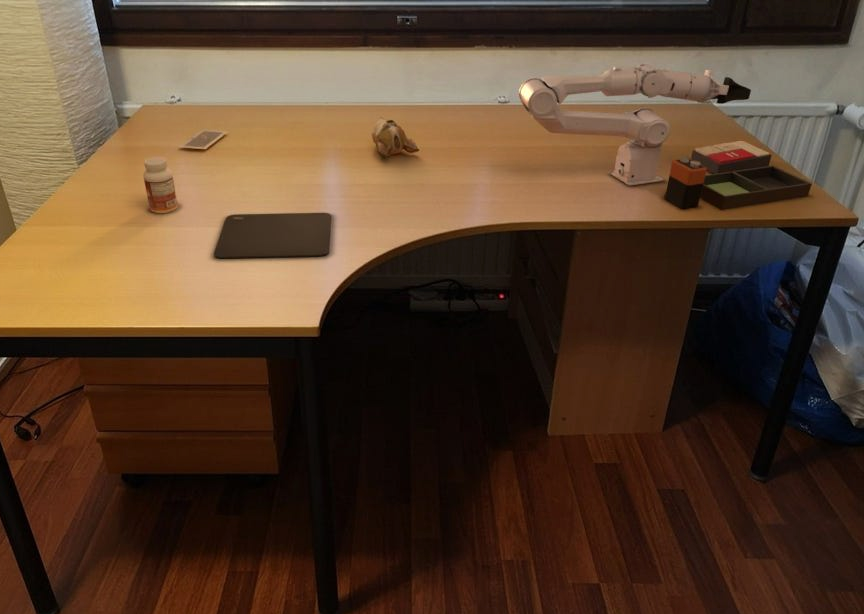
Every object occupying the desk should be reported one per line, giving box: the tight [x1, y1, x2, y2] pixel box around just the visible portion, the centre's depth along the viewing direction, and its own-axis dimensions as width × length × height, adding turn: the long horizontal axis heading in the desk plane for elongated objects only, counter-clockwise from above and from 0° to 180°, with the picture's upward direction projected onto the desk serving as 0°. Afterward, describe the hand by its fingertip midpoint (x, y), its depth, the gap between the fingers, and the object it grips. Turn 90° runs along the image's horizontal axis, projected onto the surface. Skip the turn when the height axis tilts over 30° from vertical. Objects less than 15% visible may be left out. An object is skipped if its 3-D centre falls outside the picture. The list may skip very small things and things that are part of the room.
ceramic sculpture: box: [371, 116, 420, 158], centre depth 194 cm, size 11×9×15 cm
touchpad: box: [178, 128, 229, 150], centre depth 203 cm, size 8×15×2 cm, turn 166°
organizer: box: [700, 165, 813, 211], centre depth 171 cm, size 24×12×3 cm, turn 108°
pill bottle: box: [143, 156, 178, 214], centre depth 164 cm, size 6×6×11 cm
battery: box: [664, 156, 708, 210], centre depth 165 cm, size 4×7×10 cm, turn 19°
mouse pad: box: [213, 212, 332, 259], centre depth 155 cm, size 23×20×1 cm
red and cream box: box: [690, 140, 772, 174], centre depth 186 cm, size 11×4×15 cm
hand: (739, 94), depth 171 cm, fingers open, 7 cm apart
